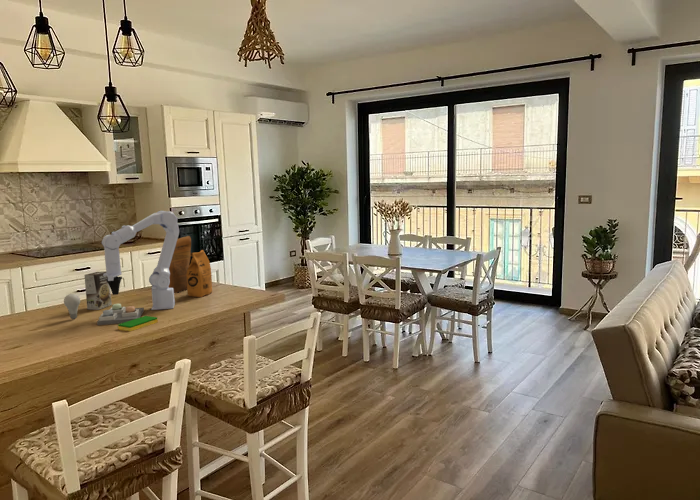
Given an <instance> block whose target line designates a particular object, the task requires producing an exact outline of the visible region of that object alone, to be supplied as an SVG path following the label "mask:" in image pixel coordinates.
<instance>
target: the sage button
mask: <svg viewBox="0 0 700 500" xmlns="http://www.w3.org/2000/svg"><path fill="white" fill-rule="evenodd" d="M121 307H122V303H114V304H112V305H111V308H112V310H120V309H122V308H121Z"/></svg>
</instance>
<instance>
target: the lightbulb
mask: <svg viewBox="0 0 700 500" xmlns="http://www.w3.org/2000/svg"><path fill="white" fill-rule="evenodd" d="M80 303H81V298H80V296H79V295H78V294H76V293H68V294H66V296H65V297H64V298H63V304H64V306H65V307H66V309H67V310H68V314H69V317H70V319H72V320H75V319H77V318H78V308H79V305H80Z"/></svg>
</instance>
